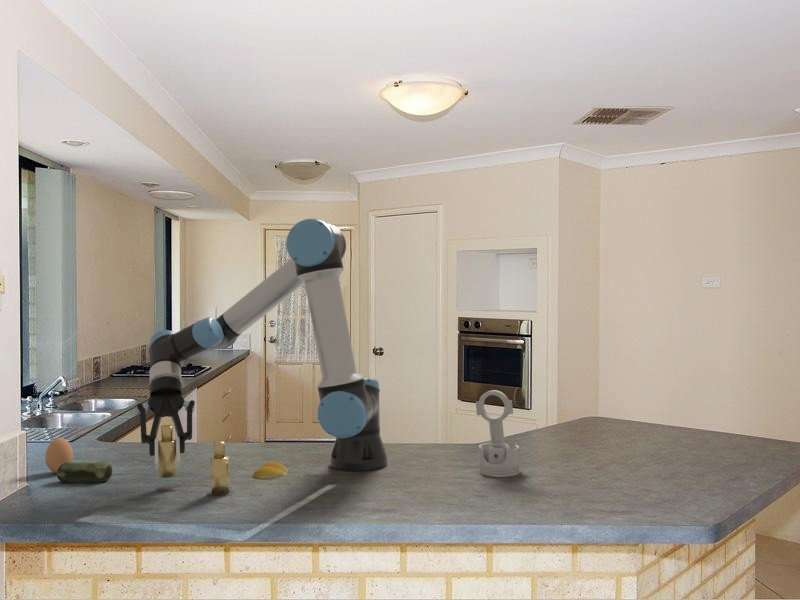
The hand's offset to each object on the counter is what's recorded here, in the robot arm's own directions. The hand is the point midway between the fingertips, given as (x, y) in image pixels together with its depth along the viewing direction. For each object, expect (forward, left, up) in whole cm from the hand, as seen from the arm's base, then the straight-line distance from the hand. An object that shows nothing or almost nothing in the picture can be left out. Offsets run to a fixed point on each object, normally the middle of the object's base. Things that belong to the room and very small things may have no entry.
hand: (167, 465), depth 155 cm
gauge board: (-5, -3, -7) cm, 9 cm away
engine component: (-66, -44, -8) cm, 80 cm away
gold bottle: (-12, -3, -6) cm, 14 cm away
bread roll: (-14, -21, -8) cm, 27 cm away
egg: (+44, -11, -8) cm, 46 cm away
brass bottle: (+3, -3, -3) cm, 5 cm away
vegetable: (+31, -6, -8) cm, 32 cm away
